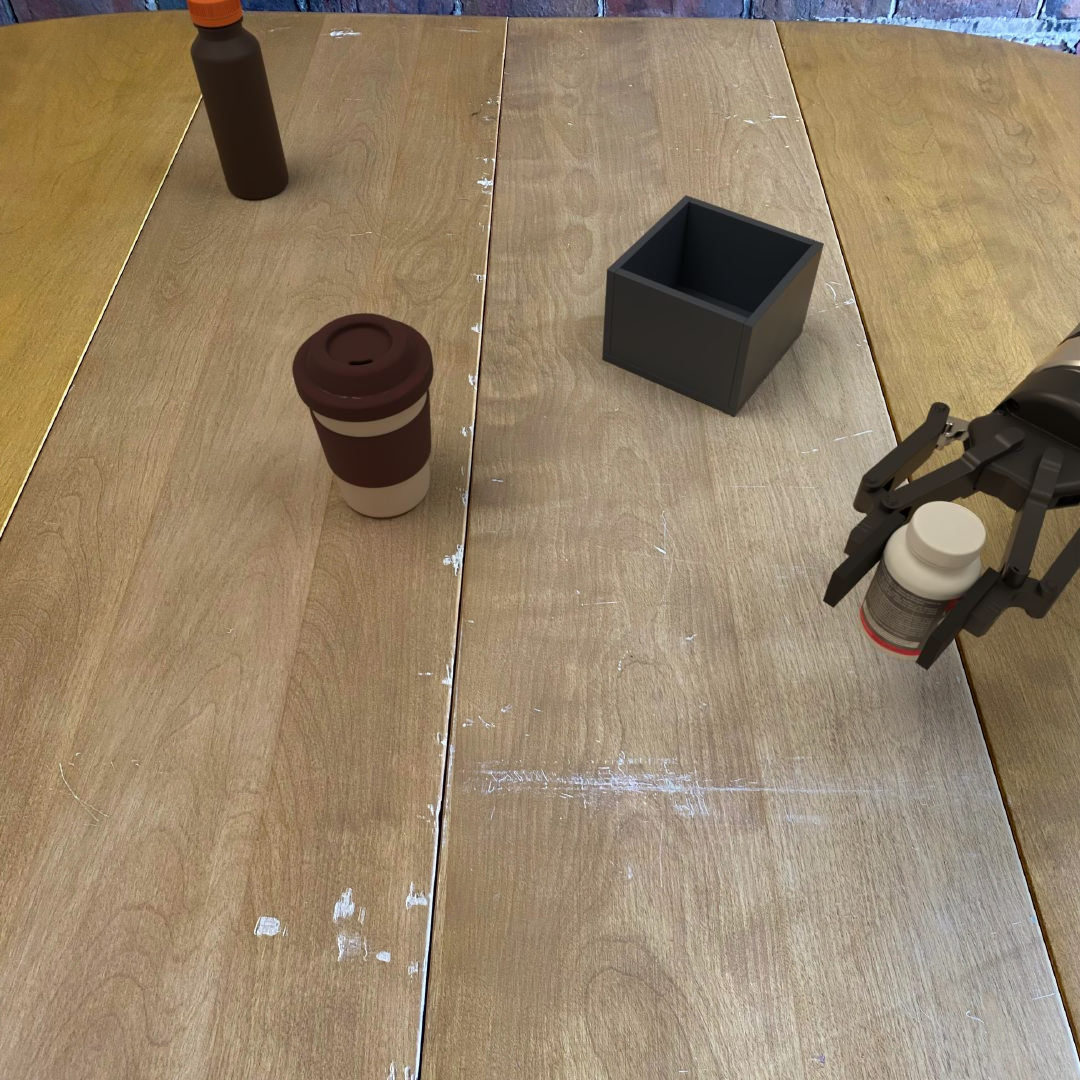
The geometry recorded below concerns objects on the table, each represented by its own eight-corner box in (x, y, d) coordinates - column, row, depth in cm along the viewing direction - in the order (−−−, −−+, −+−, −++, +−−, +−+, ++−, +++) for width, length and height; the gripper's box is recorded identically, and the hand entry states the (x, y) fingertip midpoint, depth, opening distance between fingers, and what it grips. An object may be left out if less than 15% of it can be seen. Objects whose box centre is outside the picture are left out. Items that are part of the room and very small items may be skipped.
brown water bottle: (286, 163, 112) (244, -26, 97) (293, 195, 108) (250, 2, 93) (225, 172, 111) (173, -18, 96) (230, 205, 107) (176, 11, 91)
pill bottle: (936, 675, 60) (992, 577, 52) (848, 646, 61) (890, 546, 54) (950, 608, 63) (1005, 506, 56) (866, 582, 64) (908, 479, 57)
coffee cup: (367, 429, 85) (338, 284, 73) (468, 465, 82) (455, 320, 71) (300, 508, 79) (258, 364, 68) (407, 549, 77) (382, 406, 65)
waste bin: (801, 333, 93) (824, 243, 85) (734, 417, 86) (752, 326, 78) (674, 284, 98) (685, 194, 90) (601, 359, 91) (606, 269, 83)
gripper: (1181, 525, 64) (1008, 757, 54) (928, 393, 73) (736, 571, 62) (1243, 442, 59) (1064, 684, 48) (961, 309, 67) (756, 490, 56)
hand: (880, 620), depth 55 cm, fingers closed on pill bottle, 5 cm apart
